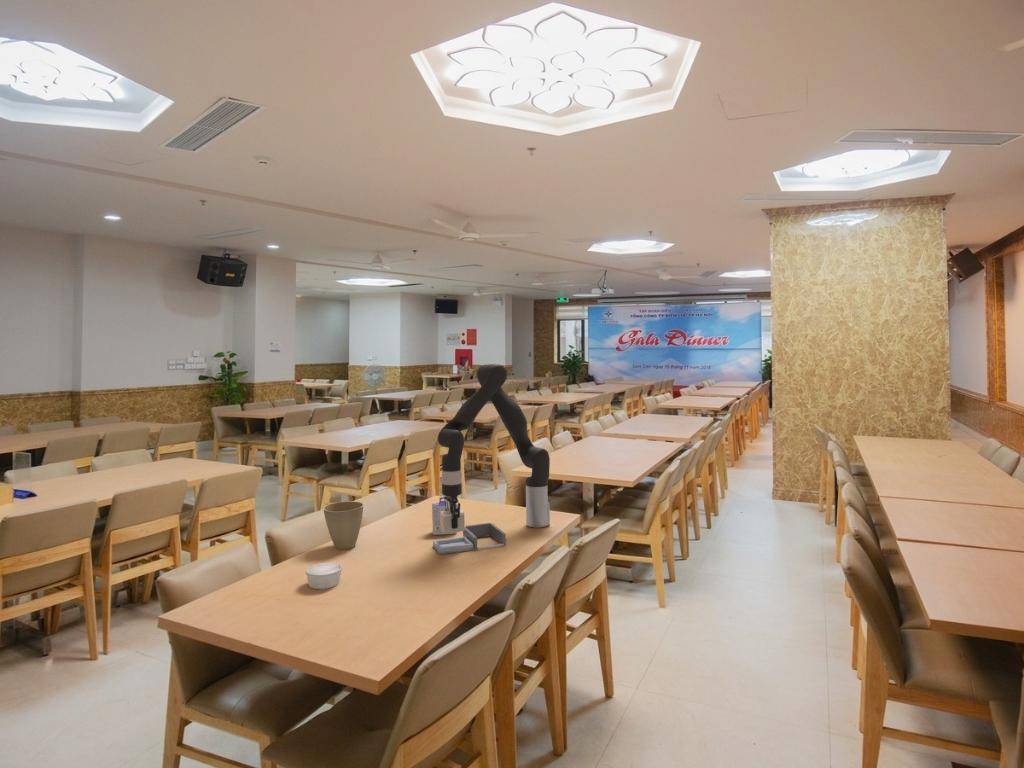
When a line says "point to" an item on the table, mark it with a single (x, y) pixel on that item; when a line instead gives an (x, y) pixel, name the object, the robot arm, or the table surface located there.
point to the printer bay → (484, 534)
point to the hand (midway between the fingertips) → (452, 526)
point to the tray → (453, 545)
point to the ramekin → (323, 575)
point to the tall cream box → (446, 522)
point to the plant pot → (344, 523)
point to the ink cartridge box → (438, 517)
